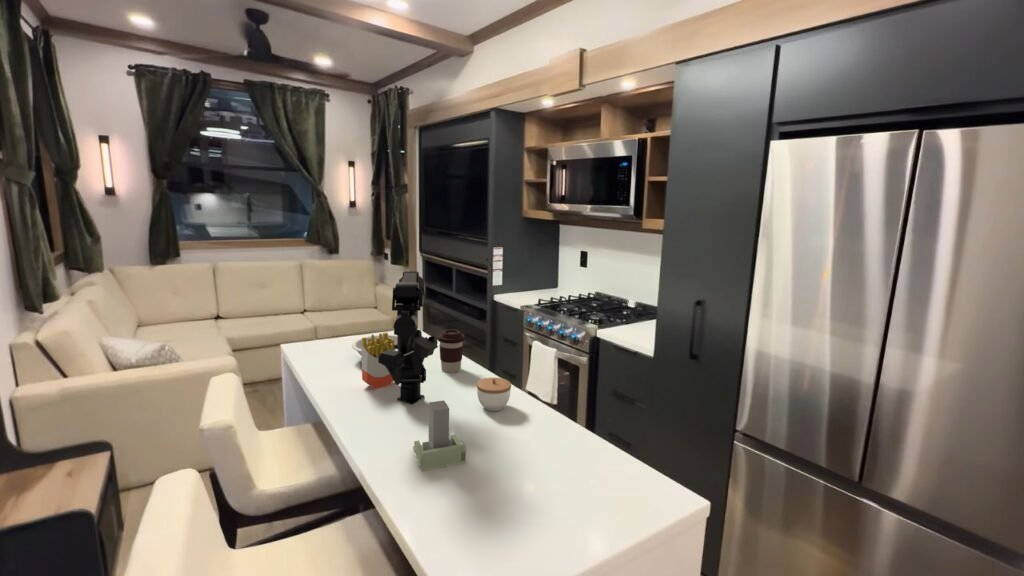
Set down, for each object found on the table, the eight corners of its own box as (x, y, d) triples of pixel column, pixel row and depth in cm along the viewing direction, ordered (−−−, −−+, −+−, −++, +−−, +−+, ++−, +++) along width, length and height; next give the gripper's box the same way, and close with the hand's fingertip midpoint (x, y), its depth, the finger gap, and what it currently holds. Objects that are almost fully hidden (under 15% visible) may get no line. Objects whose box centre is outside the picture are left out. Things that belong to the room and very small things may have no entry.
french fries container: (397, 383, 164) (397, 334, 161) (367, 390, 157) (366, 339, 154) (391, 379, 168) (391, 331, 164) (362, 386, 161) (361, 335, 158)
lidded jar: (494, 396, 156) (495, 370, 155) (517, 407, 149) (518, 379, 147) (469, 405, 149) (469, 377, 147) (492, 417, 141) (492, 388, 140)
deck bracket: (412, 447, 123) (412, 432, 122) (453, 440, 127) (453, 425, 126) (422, 470, 113) (422, 453, 112) (465, 462, 117) (465, 445, 116)
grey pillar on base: (422, 449, 121) (422, 402, 119) (448, 445, 124) (449, 398, 122) (427, 461, 116) (427, 412, 113) (455, 456, 119) (455, 408, 116)
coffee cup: (469, 368, 181) (470, 331, 178) (452, 376, 173) (453, 337, 170) (449, 363, 186) (449, 326, 183) (432, 370, 178) (432, 332, 175)
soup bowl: (406, 370, 177) (406, 353, 176) (342, 368, 177) (342, 351, 176) (419, 350, 201) (419, 335, 200) (363, 348, 201) (363, 333, 200)
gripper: (410, 339, 122) (410, 396, 124) (449, 323, 138) (448, 374, 141) (376, 333, 126) (377, 388, 129) (418, 318, 143) (418, 367, 146)
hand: (407, 379), depth 136 cm, fingers open, 9 cm apart
